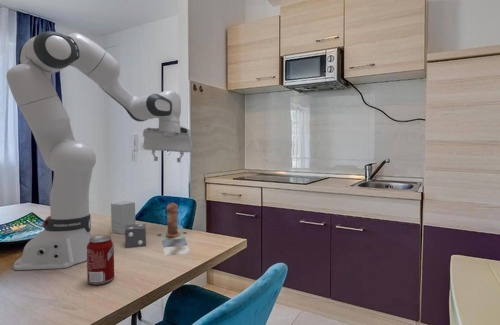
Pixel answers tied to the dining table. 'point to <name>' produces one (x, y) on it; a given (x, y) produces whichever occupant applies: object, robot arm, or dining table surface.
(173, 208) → the pawn
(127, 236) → the die
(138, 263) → the dining table surface
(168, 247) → the game board
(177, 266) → the dining table surface
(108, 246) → the soda can
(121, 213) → the supplement box
